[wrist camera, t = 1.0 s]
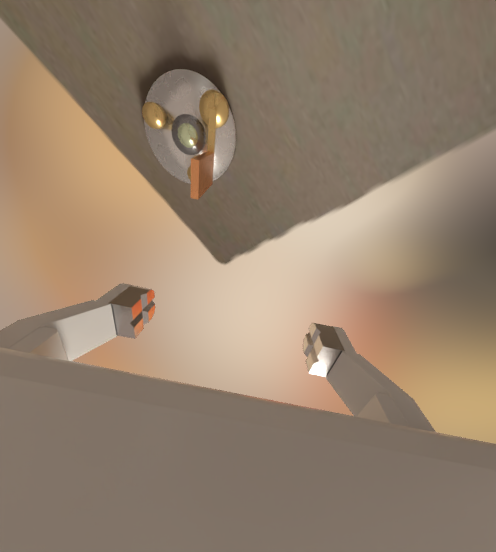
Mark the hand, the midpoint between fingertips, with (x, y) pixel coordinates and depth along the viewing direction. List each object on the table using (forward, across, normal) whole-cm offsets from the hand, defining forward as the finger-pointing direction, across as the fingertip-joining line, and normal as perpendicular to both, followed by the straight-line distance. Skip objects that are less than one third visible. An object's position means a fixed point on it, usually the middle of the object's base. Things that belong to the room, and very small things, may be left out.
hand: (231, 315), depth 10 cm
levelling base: (+36, +15, -11) cm, 41 cm away
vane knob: (+35, +11, -11) cm, 38 cm away
